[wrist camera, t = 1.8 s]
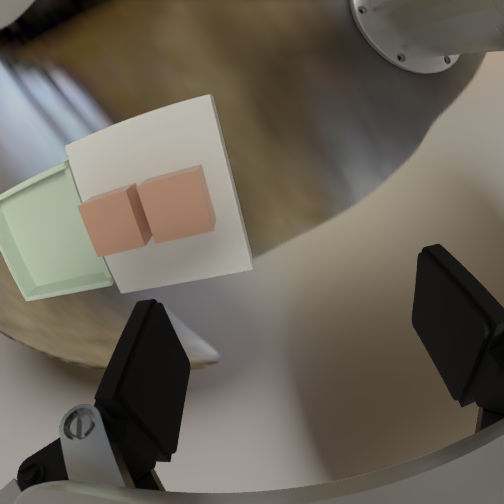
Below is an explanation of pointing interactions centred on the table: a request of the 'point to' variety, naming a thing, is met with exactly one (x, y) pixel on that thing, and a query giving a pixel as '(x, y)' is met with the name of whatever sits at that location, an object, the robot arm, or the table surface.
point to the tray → (49, 237)
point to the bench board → (158, 163)
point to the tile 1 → (116, 221)
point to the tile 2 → (177, 204)
